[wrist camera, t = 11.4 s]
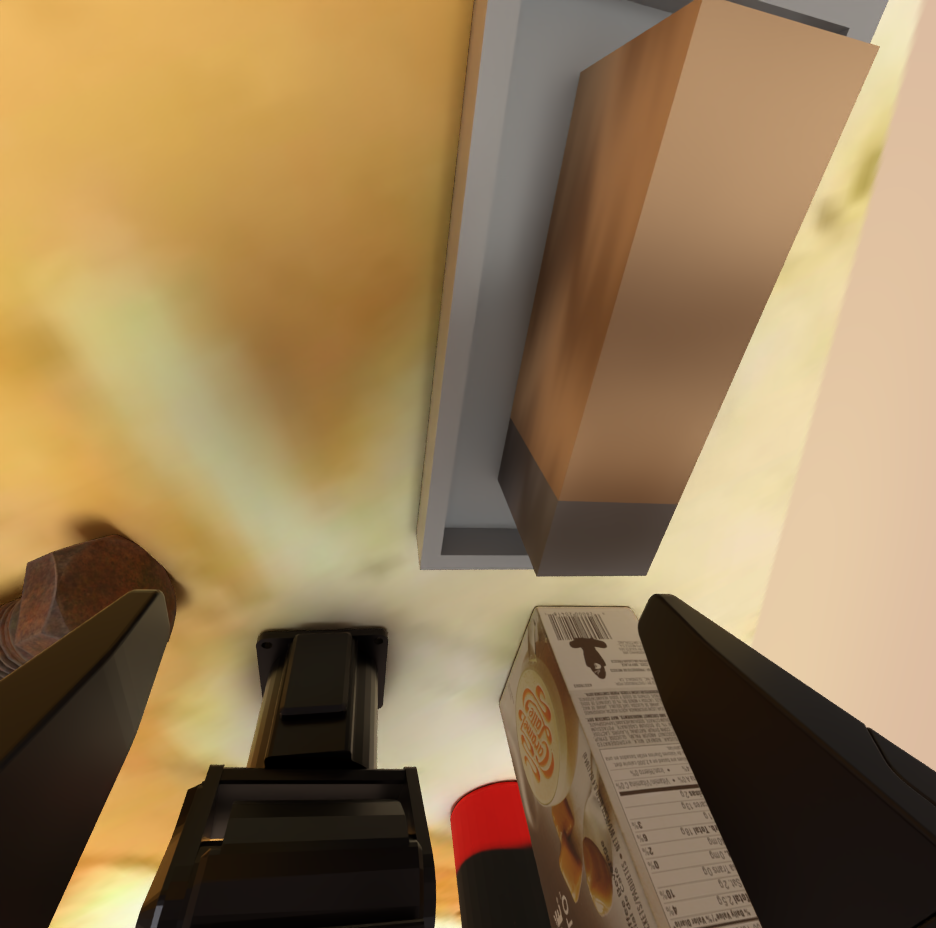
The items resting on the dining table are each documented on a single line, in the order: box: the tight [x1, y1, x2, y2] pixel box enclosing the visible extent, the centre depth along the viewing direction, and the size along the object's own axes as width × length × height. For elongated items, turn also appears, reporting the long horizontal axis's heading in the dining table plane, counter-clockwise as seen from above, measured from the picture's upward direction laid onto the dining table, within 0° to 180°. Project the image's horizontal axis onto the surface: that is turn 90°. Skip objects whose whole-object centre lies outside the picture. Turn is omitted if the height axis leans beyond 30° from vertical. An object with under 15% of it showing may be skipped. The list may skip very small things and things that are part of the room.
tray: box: [416, 0, 888, 570], centre depth 17 cm, size 20×11×2 cm, turn 172°
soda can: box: [450, 782, 551, 928], centre depth 32 cm, size 8×8×12 cm
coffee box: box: [499, 606, 762, 928], centre depth 21 cm, size 9×6×16 cm
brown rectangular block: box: [497, 0, 880, 576], centre depth 15 cm, size 14×4×6 cm, turn 172°
